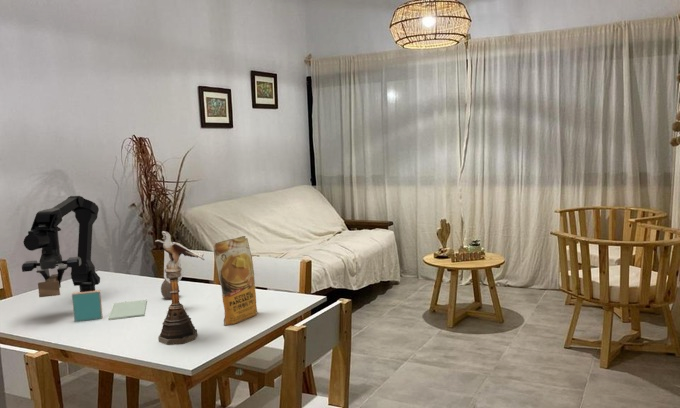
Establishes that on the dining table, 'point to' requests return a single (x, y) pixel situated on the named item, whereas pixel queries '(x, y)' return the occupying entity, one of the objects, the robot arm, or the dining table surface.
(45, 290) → the brown wooden block
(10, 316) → the dining table surface
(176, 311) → the bird statue
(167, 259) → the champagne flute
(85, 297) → the tile
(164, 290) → the vase
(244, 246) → the pancake mix bag
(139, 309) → the rest board
